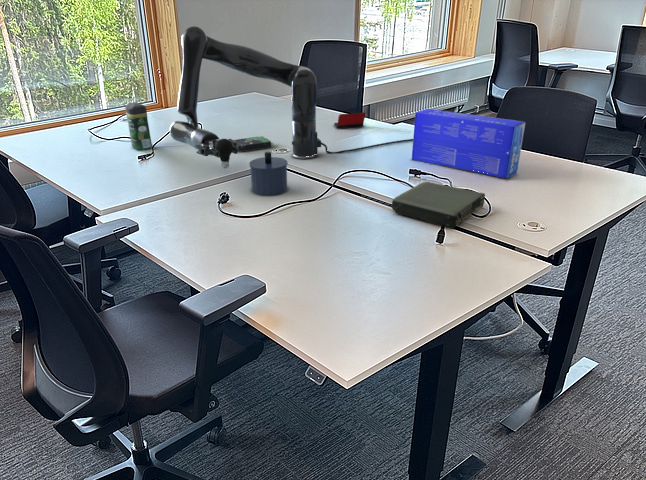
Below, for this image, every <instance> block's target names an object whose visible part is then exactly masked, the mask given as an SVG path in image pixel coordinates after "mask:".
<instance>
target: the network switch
mask: <svg viewBox="0 0 646 480" xmlns="http://www.w3.org/2000/svg"><path fill="white" fill-rule="evenodd" d="M485 198H486V194H485V193H484V192H480V191H474V190H470V189H464V188H460V187H455V186H449V185H444V184H439V183H435V182H431V181H423V182H421V183H419V184H417V185H415V186H413V187H411V188H409V189H408V190H406V191H404V192H402V193H401V194H399V195H397V196H395V197H394V198H393V199H392V201H391V209H392V211H394V213H395V214H397V215H400V216H403V217H408V218H411V219H412V218H413V219H416V220H418V221H419V220H420V221H423V222H428V223H431V224H434V225H437V226H441V227H442V228H443V227H444V228H446V229H450V230H453V229H455V228H456V227H457V226H458V225H459V224H461V223H462V222H463V221H465V220H466V219H467V218H468V217H469V216H471V215H472V214H473V213H475V212H477V211H478V210H479V209H480V208H482V207H484V204H485ZM470 214H471V215H470ZM443 223H444V224H443ZM443 225H444V226H443Z"/></svg>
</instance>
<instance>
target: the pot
mask: <svg viewBox="0 0 646 480" xmlns="http://www.w3.org/2000/svg"><path fill="white" fill-rule="evenodd" d="M287 166H288V164H287V165H286V166H285V167H283V168H280V169H275V170H258V169H254V168H251V167H250V182H251V190H252V193H254V194H255V195H258V196H265V197H269V196H279V195H282V194H284V193H285V192H287V190H288V170H287Z"/></svg>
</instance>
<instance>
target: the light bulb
mask: <svg viewBox="0 0 646 480" xmlns="http://www.w3.org/2000/svg"><path fill="white" fill-rule="evenodd" d="M219 139H220V140H219V141H217V143H216V145H215V149H217V150H219V151H220V157H219V159H220V162H221V167H222V168H223V169H224V170H225V169H228V168H229V167H230V157H231V155H232V154H233V153H232V151H233V145H232V143H231V142H230V141H229V140H228V139H229V138H228V139H227V138H219Z"/></svg>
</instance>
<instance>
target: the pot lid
mask: <svg viewBox="0 0 646 480" xmlns="http://www.w3.org/2000/svg"><path fill="white" fill-rule="evenodd" d="M288 163H289V162H288V160H287V159H286V158H282V157H278V156H272V152H271V151H264V157H263V156H262V157H258V158H255V159H251V160H250V161H249V163H248V166H249V167H250V169H251V168H254V169H258V170H275V169H280V168H283V167H285V166H286V165H287V166H288V165H289V164H288Z"/></svg>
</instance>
